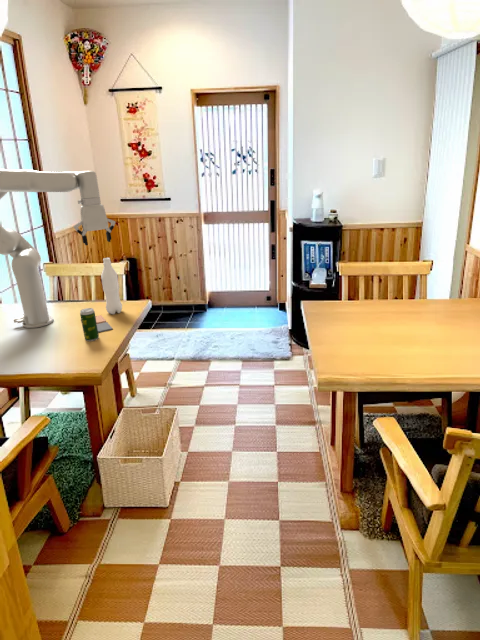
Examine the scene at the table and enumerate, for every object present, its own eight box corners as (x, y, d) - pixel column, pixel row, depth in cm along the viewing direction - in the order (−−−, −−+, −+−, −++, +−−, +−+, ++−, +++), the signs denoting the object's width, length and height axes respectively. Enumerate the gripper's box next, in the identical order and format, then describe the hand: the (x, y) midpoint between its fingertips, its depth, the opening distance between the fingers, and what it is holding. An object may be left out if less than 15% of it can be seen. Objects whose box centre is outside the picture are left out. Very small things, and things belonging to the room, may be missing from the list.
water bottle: (125, 309, 214) (117, 256, 205) (119, 314, 207) (111, 260, 199) (110, 310, 215) (101, 257, 206) (104, 315, 208) (95, 260, 200)
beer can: (94, 335, 185) (89, 307, 181) (101, 338, 182) (96, 309, 178) (82, 339, 182) (76, 310, 177) (89, 342, 178) (84, 313, 174)
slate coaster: (90, 334, 187) (90, 333, 186) (85, 327, 194) (85, 326, 194) (112, 329, 190) (112, 328, 190) (107, 323, 198) (107, 321, 198)
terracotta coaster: (84, 326, 196) (84, 325, 195) (80, 320, 203) (80, 319, 203) (106, 321, 200) (106, 320, 199) (101, 316, 207) (101, 315, 207)
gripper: (71, 205, 185) (78, 247, 191) (114, 200, 193) (120, 241, 199) (67, 203, 191) (75, 244, 197) (109, 199, 199) (115, 239, 205)
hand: (97, 243), depth 198 cm, fingers open, 9 cm apart
